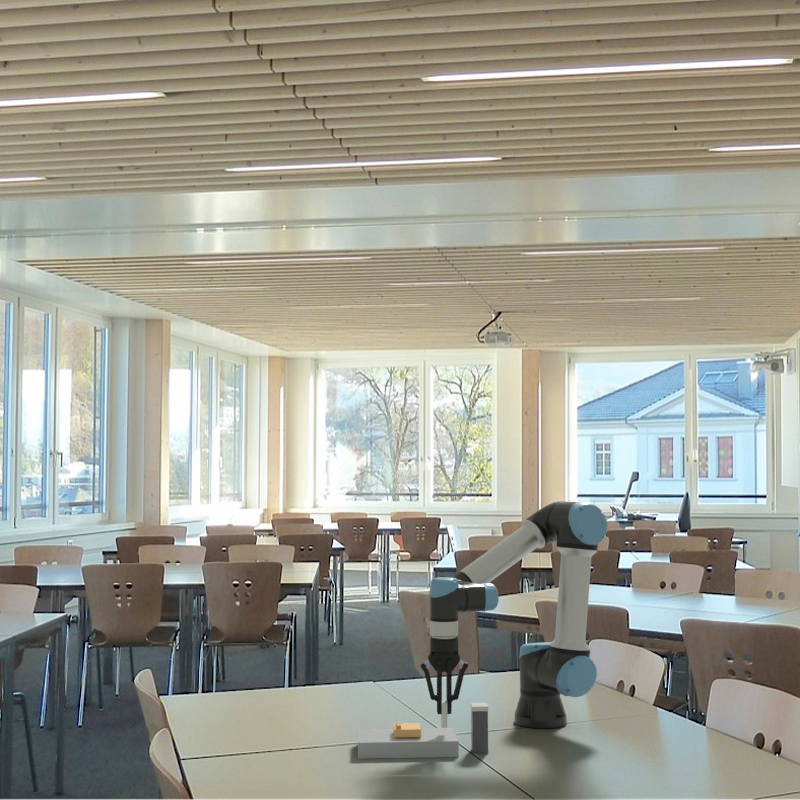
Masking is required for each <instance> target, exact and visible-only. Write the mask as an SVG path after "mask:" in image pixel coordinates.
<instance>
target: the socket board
mask: <svg viewBox="0 0 800 800" xmlns="http://www.w3.org/2000/svg"><path fill="white" fill-rule="evenodd" d="M357 731H358V733H357V759H407V758H409V759H413V758H415V759H416V758H417V759H418V758H422V759H423V758H459V756H460V754H459V750H460V748H459V743H460V742H459V739H458V738H459V737H458V736H457V732H456V729H455V727H447V728H442V727H437V728H436V727H432V728H430V727H428V728H425V727H424V728H421V737H398V738H394V728H369V729H367V728H366V729H365V728H362V729H361V728H360V729H359V728H358V729H357Z"/></svg>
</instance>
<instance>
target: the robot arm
mask: <svg viewBox="0 0 800 800" xmlns="http://www.w3.org/2000/svg"><path fill="white" fill-rule="evenodd" d="M607 532H608V522H607V518H606V515H605V514H604V512H603V511H602V510H601V508H600V507H598V506H597V505H596V504H593V503H590V502H585V501H565V500H561V501H556V502H555V501H554V502H552V503H548V504H547V505H545V506H543V507H542V508H540V509H538V510H537V511H535V512H534V513H532V514H531V515H530V516H528V517H527V518H526V519H524V520H523V521H522V522H521V526H520V527H519V528H518V529H516V530H515V531H513V532H512V533H510V534H509V535H508V536H506V537H505V538H504V539H502V540H501V541H499V542H498V543H497V544H496V545H494V546H493V547H492V548H490V549H488V550H487V551H486V552H484V553H483V554H481V556H479V557H477V558H476V559H475V560H473V561H472V562H471V563H469V564H468V565H466V566H465V567H463V568H462V569H461V570H460V571H458V572H457V573H455V574H453V576H448V577H447V576H445V577H441V576H439V577H434V578H432V579H431V580H430V585H429V635H430V638H429V655H428V656H427V659H426V660H424V661H422V662H420V664H419V665H420V668H421V669H422V671H423V673H424V676H425V680H426V684H427V688H428V692H429V693H428V694H429V697H430V700H431V701H436V713H437V715H440V726H441V727H440V728H448V715H452V702H453V701H456V700H459V697H460V693H461V688H462V684H463V680H464V676H465V672H466V670H467V669H468V667H469V664H468V662H467V661H464V660H462V659H461V656H460V654H459V638H458V635H459V614H462V613H477V612H479V613H481V612H484V613H485V612H488V611H489V612H490V611H493V610H495V609H496V608H497V606H498V604H499V602H500V601H499V592H498V589H497V586H496V585H494V583H491V582H492V581H494V580H495V579H496V578H498V577H499V576H500V575H502V574H503V573H504V572H506V571H507V570H509V569H510V568H511V567H512V566H515V564H517V563H518V562H519V561H521V560H522V559H524V558H525V557H526V556H528V555H529V554H530V553H532V552H533V551H534V550H536V549H543V548H544V547H546V546H547V545H549V544H553V543H555V542H556V546H555V547H556V549H557V551H558V552H559V553H560V566H559V578H558V579H559V581H558V592H557V603H556V604H557V605H556V617H555V618H556V620H555V632H554V633H555V634H554V639H553V640H552V641H546V642H545V641H543V642H542V641H541V642H530V643H524V644H522V645H521V646H520V647H519V655H518V659H519V690H520V691H519V698H518V701H517V704H516V709H515V712H514V723H515V724H516V725H518V726H521V727H525V728H532V729H555V728H561V727H564V726H565V725H567V721H568V720H567V713H566V712H567V711H566V709H565V707H564V704H563V700H562V697H561V695H563V696H564V697H570V698H580V697H583V696H586V695H587V694H588V693H589V691H591V690H592V689H593V687H594V685H595V684H596V681H597V676H598V671H597V666H596V664H595V662H594V661H593V660H592V658H591V647H590V645H588V644H587V642H586V637H587V627H588V626H587V625H588V613H589V612H588V609H589V595H590V585H591V584H590V583H591V582H590V580H591V570H592V557H593V556H594V555H595V554H596V553H598V546H599V544H600V543H601V542H602V541H603V539H605V537H606V535H607ZM430 664H431V665H430ZM457 665H458V674H457V677H456V682H455V686H454V691H452V690H453V689H452V686H453V685H452V684H453V683H452V680H453V679H452V672H454V669H455V668H456V667H457ZM430 666H432V668H433V669H434V670H435V672H436V694H435V691H434V687H433V684H432V679H431V675H430V672H429V669H430ZM443 673H445V675H446V677H445V679H446V682H445V685H446V686H445V687H446V690H445V692H446V700H443ZM452 693H453V694H452Z"/></svg>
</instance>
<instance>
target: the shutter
mask: <svg viewBox="0 0 800 800" xmlns="http://www.w3.org/2000/svg"><path fill="white" fill-rule="evenodd" d="M393 729H394V738H398V737H421V723H420V722H401V720H396V722H395V723H393Z"/></svg>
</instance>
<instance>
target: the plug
mask: <svg viewBox="0 0 800 800" xmlns="http://www.w3.org/2000/svg"><path fill="white" fill-rule="evenodd" d="M470 718H471V719H470V722H471V723H470V724H471V725H470V727H471V729H470V730H471V731H470V732H471V733H470V734H471V735H470V736H471V737H470V738H471V752H472V754H473V755H475V754H476V755H477V754H479V755H480V754H482V755H483V754H484V755H485V754H489V705H488V703H487V702H471V703H470Z"/></svg>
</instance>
